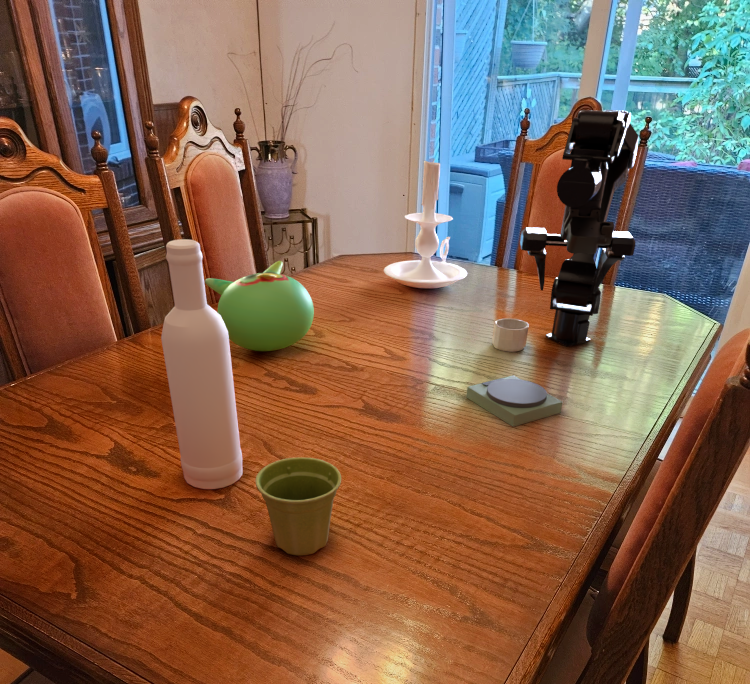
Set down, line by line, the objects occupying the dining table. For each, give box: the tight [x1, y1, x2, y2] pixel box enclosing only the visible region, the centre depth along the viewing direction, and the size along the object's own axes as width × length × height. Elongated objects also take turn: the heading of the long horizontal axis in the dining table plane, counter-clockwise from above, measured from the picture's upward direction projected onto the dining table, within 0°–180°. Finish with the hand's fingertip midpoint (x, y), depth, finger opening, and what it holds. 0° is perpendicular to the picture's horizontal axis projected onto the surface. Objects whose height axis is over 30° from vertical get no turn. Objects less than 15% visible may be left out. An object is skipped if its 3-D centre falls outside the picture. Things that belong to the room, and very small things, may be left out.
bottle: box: [160, 238, 244, 490], centre depth 81 cm, size 8×8×30 cm
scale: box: [465, 374, 563, 428], centre depth 109 cm, size 12×10×3 cm
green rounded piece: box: [204, 260, 315, 352], centre depth 125 cm, size 18×17×15 cm
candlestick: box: [383, 158, 468, 289], centre depth 160 cm, size 21×25×28 cm
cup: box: [491, 317, 530, 353], centre depth 130 cm, size 7×7×4 cm
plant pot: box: [255, 456, 342, 556], centre depth 76 cm, size 9×9×9 cm
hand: (567, 291), depth 120 cm, fingers open, 9 cm apart
